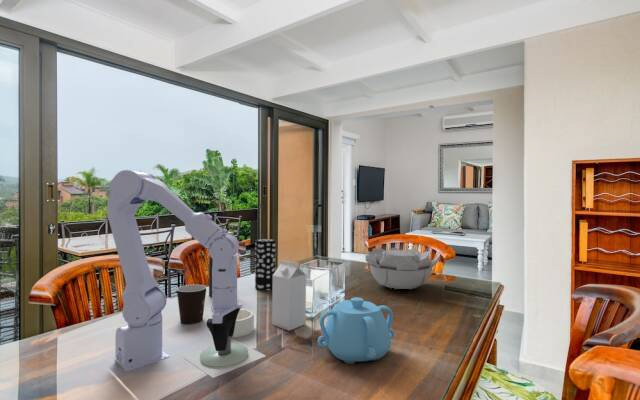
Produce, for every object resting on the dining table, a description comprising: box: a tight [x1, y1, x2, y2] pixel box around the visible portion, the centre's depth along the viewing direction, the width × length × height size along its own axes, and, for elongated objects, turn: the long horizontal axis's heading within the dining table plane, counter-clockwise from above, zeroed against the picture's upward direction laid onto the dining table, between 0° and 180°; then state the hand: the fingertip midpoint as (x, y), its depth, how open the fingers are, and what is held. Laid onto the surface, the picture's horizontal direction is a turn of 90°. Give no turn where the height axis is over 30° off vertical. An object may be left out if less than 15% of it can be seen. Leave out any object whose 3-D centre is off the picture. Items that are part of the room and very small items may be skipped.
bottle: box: [208, 255, 213, 298], centre depth 136 cm, size 7×7×20 cm
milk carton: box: [271, 259, 307, 332], centre depth 105 cm, size 7×7×19 cm
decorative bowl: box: [365, 247, 441, 290], centre depth 149 cm, size 30×30×15 cm
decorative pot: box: [317, 296, 395, 364], centre depth 86 cm, size 16×16×14 cm
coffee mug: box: [176, 284, 207, 325], centre depth 110 cm, size 12×9×10 cm
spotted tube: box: [254, 238, 277, 292], centre depth 146 cm, size 8×8×20 cm
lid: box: [200, 335, 248, 368], centre depth 83 cm, size 11×11×4 cm
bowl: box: [232, 308, 255, 338], centre depth 100 cm, size 10×10×5 cm
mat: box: [182, 338, 267, 379], centre depth 83 cm, size 14×14×1 cm
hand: (224, 343), depth 83 cm, fingers open, 7 cm apart
